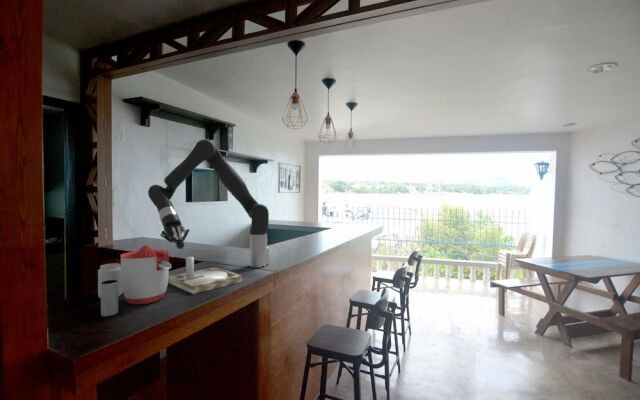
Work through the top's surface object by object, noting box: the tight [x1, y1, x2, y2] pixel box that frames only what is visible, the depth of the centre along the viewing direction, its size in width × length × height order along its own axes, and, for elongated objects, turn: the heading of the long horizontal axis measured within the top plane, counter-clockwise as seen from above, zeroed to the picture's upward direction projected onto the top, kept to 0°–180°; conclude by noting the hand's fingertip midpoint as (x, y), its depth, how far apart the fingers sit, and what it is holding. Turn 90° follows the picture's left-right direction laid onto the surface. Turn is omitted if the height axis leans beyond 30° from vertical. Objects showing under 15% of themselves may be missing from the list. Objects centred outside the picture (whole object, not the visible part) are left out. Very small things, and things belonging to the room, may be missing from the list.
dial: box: [183, 256, 227, 284], centre depth 133 cm, size 18×18×10 cm
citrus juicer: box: [119, 244, 172, 305], centre depth 111 cm, size 16×17×20 cm
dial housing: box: [168, 266, 243, 295], centre depth 133 cm, size 22×22×3 cm
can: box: [97, 262, 124, 299], centre depth 114 cm, size 8×8×12 cm
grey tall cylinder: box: [100, 280, 119, 317], centre depth 98 cm, size 4×4×10 cm
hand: (181, 247), depth 135 cm, fingers closed
